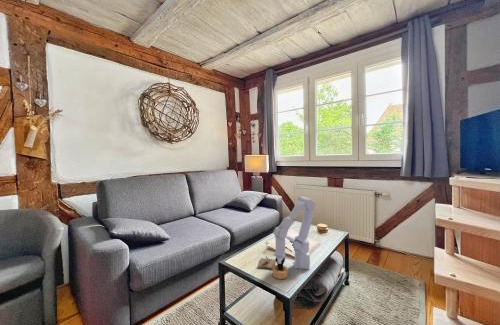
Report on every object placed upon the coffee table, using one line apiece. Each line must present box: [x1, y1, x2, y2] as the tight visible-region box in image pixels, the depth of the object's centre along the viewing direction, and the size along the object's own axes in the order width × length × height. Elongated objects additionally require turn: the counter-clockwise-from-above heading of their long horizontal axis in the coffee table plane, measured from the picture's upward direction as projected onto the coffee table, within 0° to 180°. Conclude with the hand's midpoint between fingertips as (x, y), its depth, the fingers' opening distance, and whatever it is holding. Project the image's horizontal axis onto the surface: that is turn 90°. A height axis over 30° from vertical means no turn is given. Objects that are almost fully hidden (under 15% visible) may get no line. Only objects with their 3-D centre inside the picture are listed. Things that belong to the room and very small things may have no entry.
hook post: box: [265, 255, 270, 264], centre depth 137 cm, size 2×2×4 cm
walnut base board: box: [257, 257, 277, 271], centre depth 137 cm, size 10×10×1 cm
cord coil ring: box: [272, 264, 288, 280], centre depth 125 cm, size 8×8×4 cm
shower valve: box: [285, 235, 295, 243], centre depth 162 cm, size 12×6×15 cm
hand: (280, 268), depth 129 cm, fingers closed on cord coil ring
